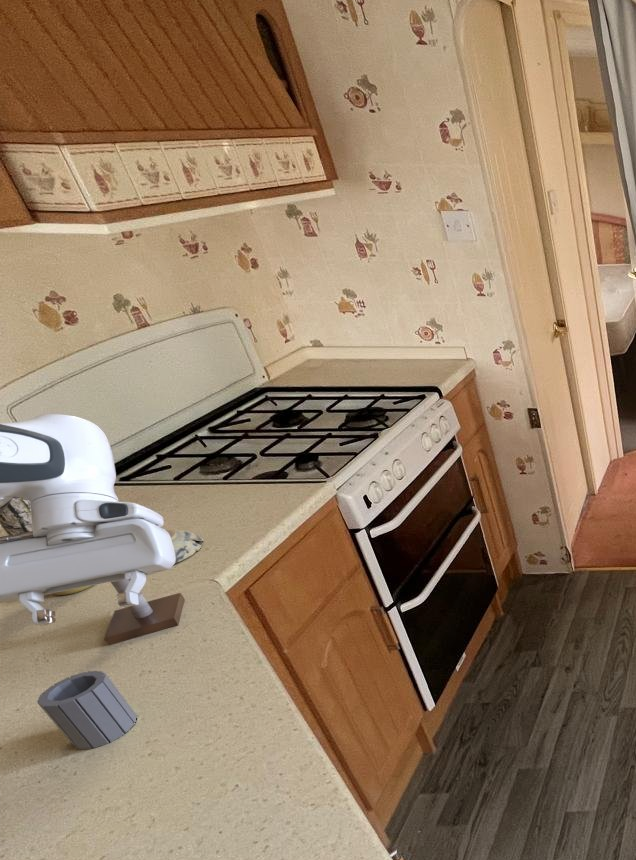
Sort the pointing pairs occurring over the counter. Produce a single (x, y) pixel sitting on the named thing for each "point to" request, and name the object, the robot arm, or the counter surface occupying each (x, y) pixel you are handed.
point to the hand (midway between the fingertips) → (87, 614)
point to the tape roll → (88, 709)
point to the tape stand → (143, 616)
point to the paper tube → (23, 525)
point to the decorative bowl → (184, 544)
